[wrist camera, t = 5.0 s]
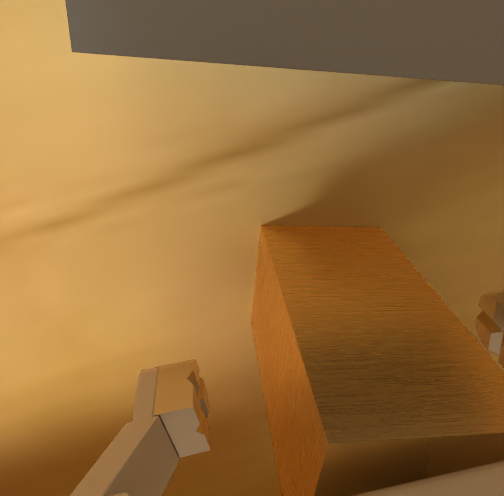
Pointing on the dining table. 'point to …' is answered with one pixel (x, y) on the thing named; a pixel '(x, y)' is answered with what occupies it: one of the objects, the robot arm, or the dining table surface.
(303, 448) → the tilted wooden brick
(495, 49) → the jig
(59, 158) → the dining table surface
